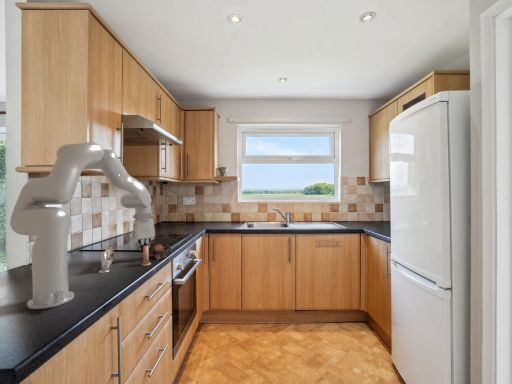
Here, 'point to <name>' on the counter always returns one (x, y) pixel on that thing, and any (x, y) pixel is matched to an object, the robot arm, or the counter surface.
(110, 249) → the gate
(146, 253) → the post
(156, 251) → the pottery mug
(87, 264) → the counter surface
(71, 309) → the counter surface
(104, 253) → the clear glass cylinder
